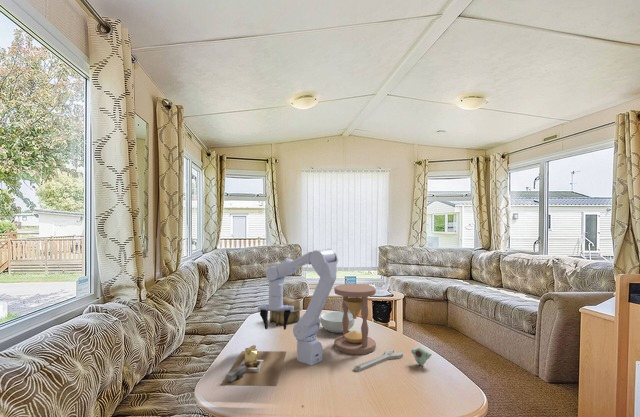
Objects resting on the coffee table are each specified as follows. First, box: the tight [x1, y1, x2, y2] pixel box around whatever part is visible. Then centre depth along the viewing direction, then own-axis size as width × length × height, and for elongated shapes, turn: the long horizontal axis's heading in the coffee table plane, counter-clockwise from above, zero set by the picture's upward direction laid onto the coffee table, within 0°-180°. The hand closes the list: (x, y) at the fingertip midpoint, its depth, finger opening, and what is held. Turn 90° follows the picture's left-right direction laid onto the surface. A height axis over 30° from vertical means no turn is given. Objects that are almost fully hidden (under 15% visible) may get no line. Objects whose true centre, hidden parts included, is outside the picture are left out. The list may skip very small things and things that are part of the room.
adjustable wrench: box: [353, 349, 404, 372], centre depth 131 cm, size 25×6×2 cm, turn 124°
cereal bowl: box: [319, 310, 356, 334], centre depth 167 cm, size 17×17×7 cm
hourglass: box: [333, 283, 377, 355], centre depth 146 cm, size 18×18×25 cm
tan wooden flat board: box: [220, 347, 287, 387], centre depth 123 cm, size 18×28×4 cm, turn 179°
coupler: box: [244, 344, 258, 368], centre depth 122 cm, size 5×4×7 cm
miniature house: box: [269, 296, 302, 327], centre depth 182 cm, size 15×14×11 cm
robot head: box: [410, 346, 433, 366], centre depth 127 cm, size 8×4×7 cm, turn 52°
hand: (275, 328), depth 140 cm, fingers open, 7 cm apart
